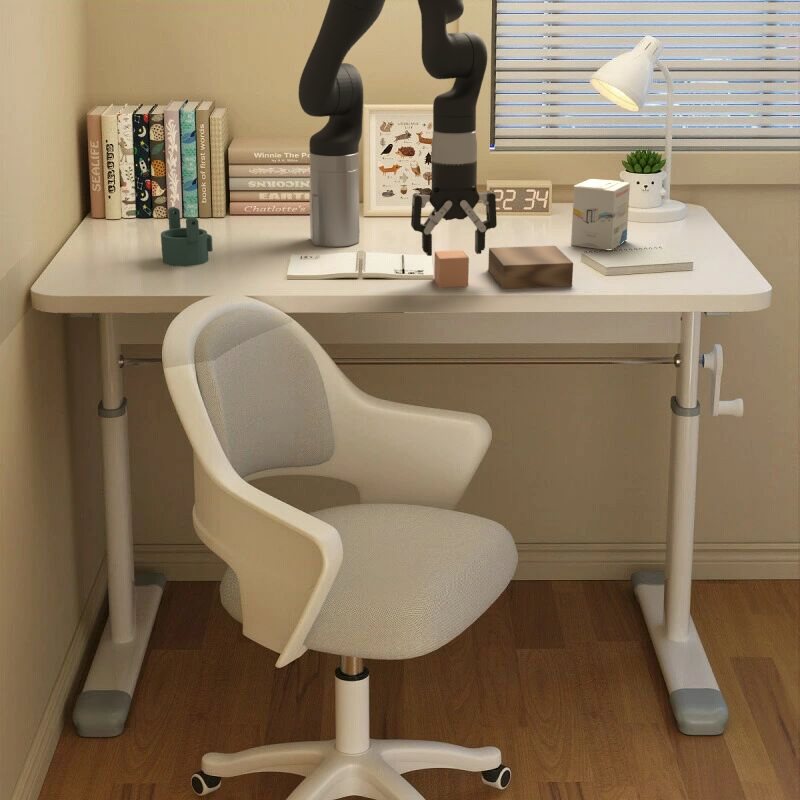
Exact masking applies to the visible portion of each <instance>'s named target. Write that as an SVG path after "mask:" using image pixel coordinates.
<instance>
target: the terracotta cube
mask: <svg viewBox="0 0 800 800" xmlns="http://www.w3.org/2000/svg"><path fill="white" fill-rule="evenodd" d="M469 262H470V258H469V256H468V254H466V252H465V250H463V249H462V250H460V249H459V250H445V251H443V250H437V251H434V264H433V265H434V273H433V274H434V275H433V276H434V281H435V282H436V284H437V286H438V287H439V288H446V287H450V288H451V287H467V286H468V287H469V267H470V265H469V264H470V263H469Z"/></svg>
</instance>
